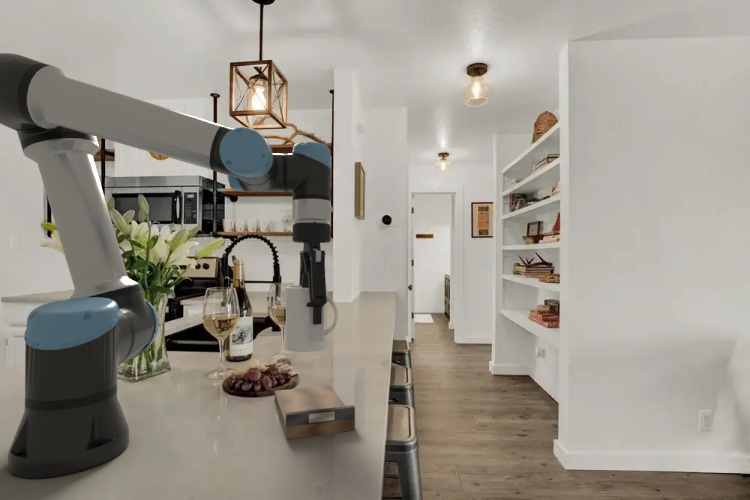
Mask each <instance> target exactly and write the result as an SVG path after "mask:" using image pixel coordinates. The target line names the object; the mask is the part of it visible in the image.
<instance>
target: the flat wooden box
mask: <svg viewBox="0 0 750 500" xmlns="http://www.w3.org/2000/svg"><path fill="white" fill-rule="evenodd" d="M274 403H275V406H276V410H277V413H278V416H279V419H280V423H281V426H282V429H283V433H284V436H285V440H289V439H298V438H304V437H313V436H314V437H315V436H321V435H327V434H335V433H344V432H350V431H356V406H355V405H345V403H344V402H343V401H342V399H341V398H340V397H339V395H338V394H337V393H336V391H334V389H333V387H332V386H331V385H321V386H311V387H310V386H309V387H301V388H292V389H291V388H290V389H278V390H274Z"/></svg>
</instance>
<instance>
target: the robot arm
mask: <svg viewBox="0 0 750 500" xmlns="http://www.w3.org/2000/svg"><path fill="white" fill-rule="evenodd" d="M0 125H2V126H5V127H7V128H8V129H12V130H14V131H16V134H17V136H18V139H19V142H20V145H21V150H22V153H23V155H24V157H26V158H28V159H29V160H31V161H33V162H35V163H36V164H37V166H38V171H39V173H40V177H41V181H42V183H43V186H44V190H45V193H46V196H47V200H48V203H49V207H50V209H51V210H50V211H51V213H52V218H53V220H54V223H55V227H56V230H57V235H58V236H59V240H60V243H61V247H62V251H63V255H64V257H65V260H66V263H67V264H66V265H67V268H68V270H69V274H70V277H71V281H72V285H73V287H74V291H73V293H72V294H71V296H70V297H69V298H68V299H66V300H57V301H56V300H55V301H51V302H48V303H43V304H42V305H40V306H37V307H36V308H34V309H32V310H31V311H30V313H29V314H28V316H27V319H26V329H25V331H24V335H23V336H24V337H23V339H24V341H25V347H24V348H25V352H24V353H25V358H24V359H25V360H24V362H25V366H24V369H25V370H24V371H25V372H24V373H25V375H24V382H25V383H24V412H23V415H22V418H21V420H20V423H19V424H18V427H17V430H16V433H15V434H14V438H13V440H12V442H11V445H10V448H9V450H8V454H7V470H8V472H9V473H10V474H11V475H14V476H16V477H20V478H29V479H40V478H41V479H43V478H51V477H58V476H59V477H60V476H64V475H69V474H74V473H78V472H81V471H84V470H88V469H91V468H93V467H97V466H99V465H100V464H103V463H106V462H109V461H110V460H111V459H113V458H116V457H117V456H119V455H120V454H121V453H123V452H124V451H125V450H126V449H127V447H128V446H129V444H130V429H129V425H128V422H127V419H126V417H125V413H124V411H123V409H122V408H123V407H122V406H121V403H120V401H119V397H118V369H119V368H118V366H120V365H122V364H123V363H125V362H127V361H129V360H133V359H135V358H137V357H138V356H140V355H141V354H143V353H144V351H146V350H147V349H148V348H149V347H150V346H151V345H152V344H153V343H154V341H155V339H156V337H157V335H158V332H159V328H160V318H159V314H158V312H157V310H156V309H155V307H154V306H153V304H151V303H150V302H149V301H147V299H144V295H143V292H142V288H141V284H140V283H139V282H137V281H135V280H133V279H131V278H130V277H129V275H128V273H127V270H126V266H125V263H124V259H123V256H122V255H123V254H122V253H121V248H120V246H119V242H118V239H117V236H116V235H117V234H116V231H115V228H114V225H113V221H112V218H111V215H110V211H109V208H108V205H107V201H106V198H105V194H104V191H103V188H102V184H101V180H100V177H99V175H98V171H97V168H96V163H95V160H94V157H95V155H96V154H97V153H98V152H99V150H100V145H99V141H98V138H101V139H104V140H107V141H112V142H114V143H118V144H122V145H125V146H127V147H128V146H129V147H130V148H131V147H132V148H135V149H139V150H141V151H145V152H149V153H152V154H156V155H159V156H163V157H167V158H169V159H173V160H177V161H180V162H183V163H187V164H191V165H194V166H197V167H201V168H203V169H207V170H210V171H211V170H212V171H214V172H217V173H220V174H223V175H227V180H228V183H229V184H228V185H229V187H230V188H231V190H233V191H235V192H246V193H249V194H250V193H251V194H252V193H264V192H265V193H292V202H291V203H292V205H291V206H292V207H291V208H292V210H291V211H292V213H291V215H292V217H291V219H292V221H293V222H294V223H293V224H292V237H291V238H292V241H293V242H294V243H297V244H302V243H303V248H302V249H303V250H300V251H299V259H300V261H299V262H300V263H299V279H298V280H299V284H298V286H302V288H309V296H310V303H307V304H306V307H309V336H308V341H309V342H321V341H324V304H326V303H327V304H328V301H327V299H326V287H327V283H326V282H327V281H326V252H325V250H322V249H321V244H326V243H330V242H331V241H332V237H331V235H332V232H331V231H332V226H331V224H330V223H328V222H330V221H331V220H332V219H331V218H332V217H331V216H332V215H331V213H332V212H333V211H334V207H333V206H331V203H332V202H331V201H332V200H331V199H332V198H331V197H332V159H331V155H332V154H331V150H330V148H329V147H328V145H325V144H323V143H320V142H314V141H306V142H303V141H302V142H297V143H295V144H294V145H293V147H292V152H291V153H273V149H272V147H271V144H270V142H269V141H268V140H267V138H266V137H264V136H263V135H262V134H261V132H259V131H257V130H256V129H254V128H252V127H251V128H250V127H247V126H244V127H243V126H242V127H236V128H232V127H227V126H224V125H221V124H218V123H215V122H213V121H208V120H206V119H202V118H199V117H196V116H192V115H190V114H186V113H184V112H183V113H182V112H180V111H177V110H174V109H170V108H168V107H167V108H166V107H164V106H162V105H161V106H160V105H157V104H155V103H151V102H147V101H144V100H141V99H138V98H135V97H132V96H128V95H125V94H121V93H118V92H115V91H112V90H108V89H105V88H102V87H100V86H95V85H93V84H91V83H87V82H83V81H80V80H76V79H73V78H70V77H68V75H67V74H66V72H65V71H63V69H61V68H59V67H56V66H54V65H51V64H47V63H45V62H41V61H38V60H35V59H33V58H29V57H27V56H23V55H21V54H17V53H10V52H9V53H7V52H4V53H2V52H0Z"/></svg>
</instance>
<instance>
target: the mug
mask: <svg viewBox="0 0 750 500" xmlns="http://www.w3.org/2000/svg"><path fill="white" fill-rule="evenodd" d="M326 299H327V303H326V304H324V341H321V342H309V341H308V336H309V307H306V304H307V303H310V296H309V288H302V286H299V285H290V286H286V287H285V339H284V346H283V348H284V349H285V350H286V351H289V352H299V353H309V352H319V351H323V350H326V349H328V346H329V344H328V337H327V336H328V335H329V334H331V333H332V332H333V331H334V329H335V327H336V326H337V324H338V321H339V320H338V318H339V317H338V316H339V313H338V312H339V311H338V308H337V304H336V303H335V301H334V300H333V299H332V298H331V296H329V295H328V287H327V286H326ZM328 303H330V305H331V306H332V310H333V314H334V319H333V322H332V324H331V326H330V327H329V328H327V327H328V326H327V325H328V321H327V319H328V315H327V314H328V313H327V312H328V311H327V310H328V307H327V306H328Z"/></svg>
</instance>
